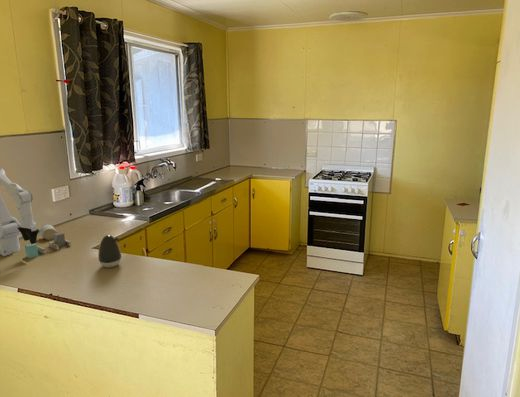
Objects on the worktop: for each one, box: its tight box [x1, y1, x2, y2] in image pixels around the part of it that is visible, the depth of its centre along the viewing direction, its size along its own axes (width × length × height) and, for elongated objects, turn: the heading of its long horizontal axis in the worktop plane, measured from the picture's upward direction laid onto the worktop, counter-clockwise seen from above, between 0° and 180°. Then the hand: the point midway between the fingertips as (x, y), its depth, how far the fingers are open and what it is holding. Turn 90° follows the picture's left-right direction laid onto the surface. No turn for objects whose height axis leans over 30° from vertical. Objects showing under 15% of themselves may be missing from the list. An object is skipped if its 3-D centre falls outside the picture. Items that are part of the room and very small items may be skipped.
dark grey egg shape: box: [98, 234, 122, 268], centre depth 184 cm, size 10×10×15 cm
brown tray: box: [37, 238, 72, 255], centre depth 206 cm, size 14×9×3 cm, turn 142°
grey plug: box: [53, 231, 66, 248], centre depth 207 cm, size 4×4×7 cm
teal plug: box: [24, 242, 39, 259], centre depth 194 cm, size 4×4×7 cm
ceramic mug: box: [39, 224, 59, 241], centre depth 222 cm, size 11×8×8 cm
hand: (30, 241), depth 193 cm, fingers open, 7 cm apart
